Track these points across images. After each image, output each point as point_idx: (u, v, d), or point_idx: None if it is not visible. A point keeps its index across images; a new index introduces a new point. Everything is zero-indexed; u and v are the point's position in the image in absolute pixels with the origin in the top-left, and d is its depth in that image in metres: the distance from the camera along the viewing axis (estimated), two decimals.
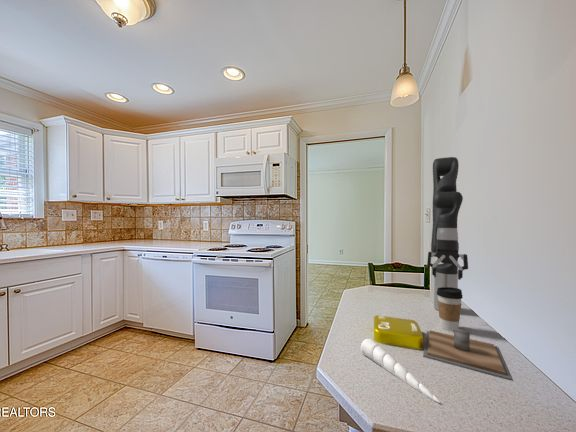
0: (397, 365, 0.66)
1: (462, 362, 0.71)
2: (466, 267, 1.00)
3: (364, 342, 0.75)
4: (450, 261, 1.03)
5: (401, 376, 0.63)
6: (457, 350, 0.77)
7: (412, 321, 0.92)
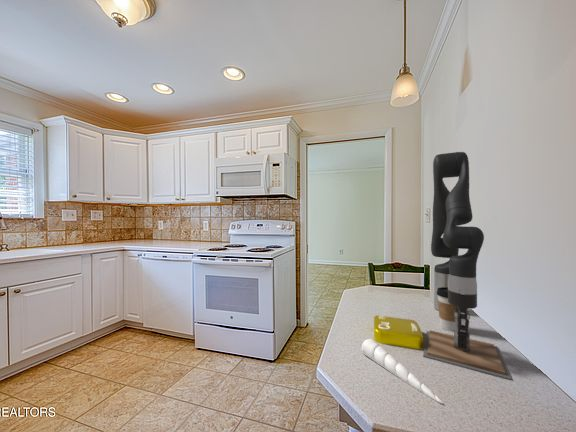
0: (399, 365, 0.66)
1: (462, 362, 0.71)
2: None
3: (365, 342, 0.75)
4: None
5: (403, 376, 0.63)
6: (457, 350, 0.77)
7: (412, 321, 0.92)
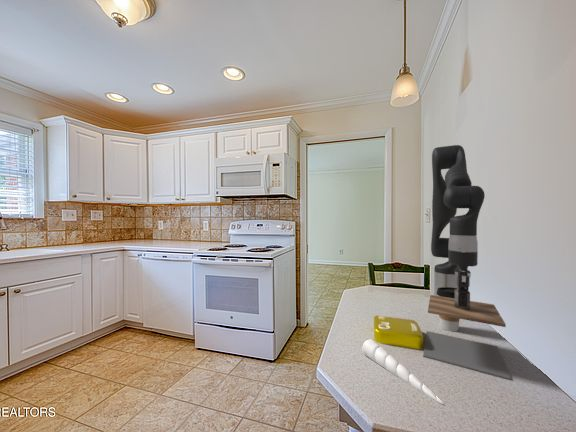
0: (399, 366, 0.65)
1: (462, 317, 0.71)
2: None
3: (366, 343, 0.75)
4: None
5: (404, 377, 0.63)
6: (457, 309, 0.77)
7: (412, 321, 0.92)
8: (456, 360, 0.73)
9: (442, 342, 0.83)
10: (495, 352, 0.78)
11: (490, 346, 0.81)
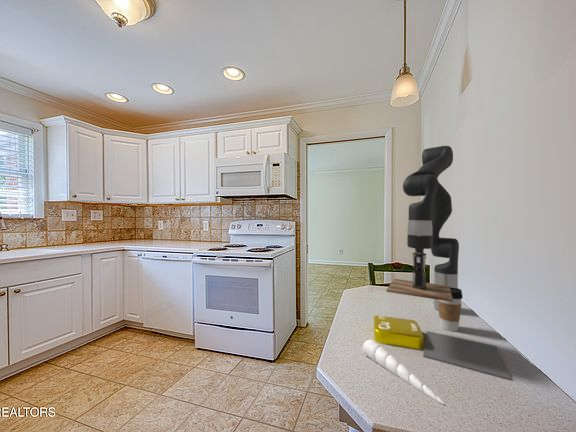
0: (400, 366, 0.65)
1: (416, 294, 0.77)
2: None
3: (366, 343, 0.75)
4: None
5: (404, 377, 0.63)
6: (414, 288, 0.83)
7: (412, 321, 0.92)
8: (456, 360, 0.73)
9: (442, 342, 0.83)
10: (495, 352, 0.78)
11: (490, 346, 0.81)
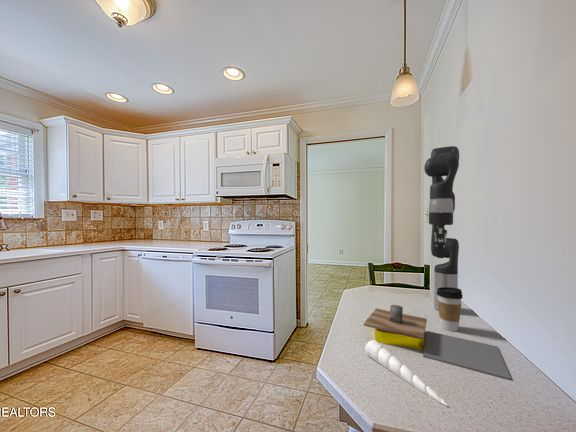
0: (403, 367, 0.65)
1: (390, 330, 0.82)
2: None
3: (369, 344, 0.74)
4: None
5: (407, 378, 0.62)
6: (391, 322, 0.87)
7: None
8: (456, 360, 0.73)
9: (442, 342, 0.83)
10: (495, 352, 0.78)
11: (490, 346, 0.81)
